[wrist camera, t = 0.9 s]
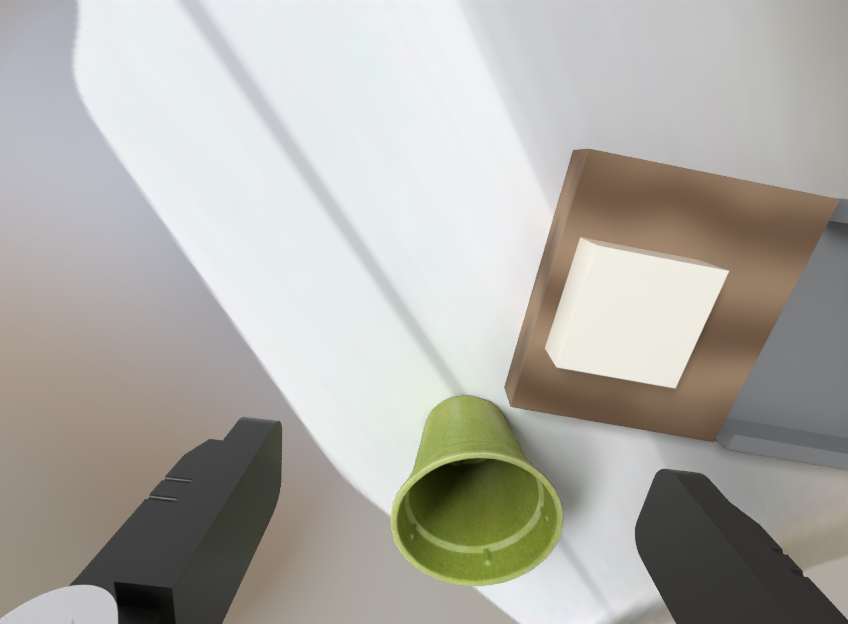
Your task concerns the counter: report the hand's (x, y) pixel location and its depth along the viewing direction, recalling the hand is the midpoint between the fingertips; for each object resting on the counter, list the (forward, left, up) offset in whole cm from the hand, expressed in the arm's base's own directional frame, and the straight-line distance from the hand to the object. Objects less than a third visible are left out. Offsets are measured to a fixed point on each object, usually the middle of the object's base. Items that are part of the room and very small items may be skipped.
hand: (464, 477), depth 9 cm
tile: (0, +10, -16) cm, 19 cm away
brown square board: (0, +13, -19) cm, 23 cm away
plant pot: (+12, +4, -19) cm, 23 cm away
